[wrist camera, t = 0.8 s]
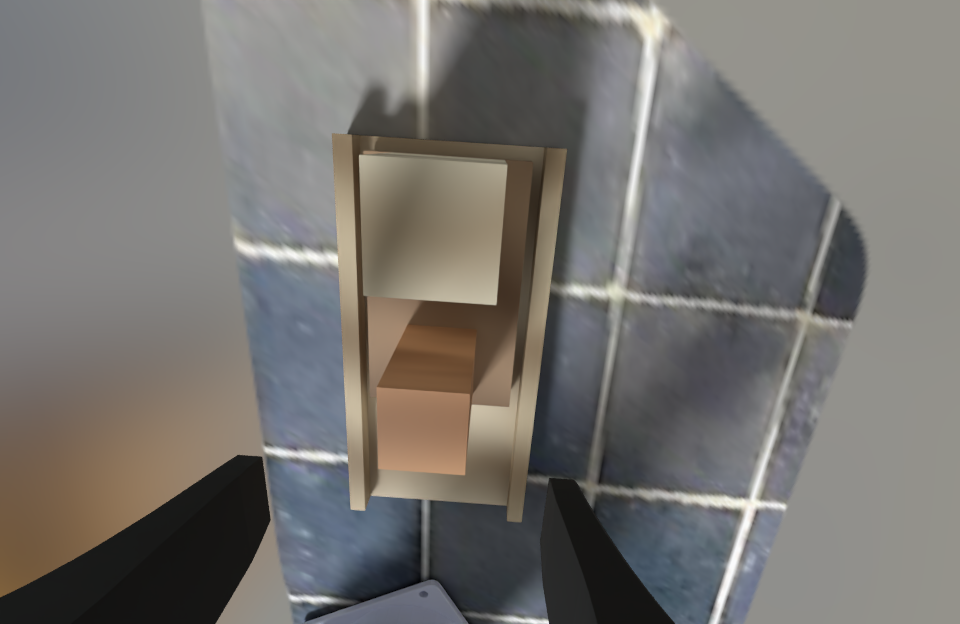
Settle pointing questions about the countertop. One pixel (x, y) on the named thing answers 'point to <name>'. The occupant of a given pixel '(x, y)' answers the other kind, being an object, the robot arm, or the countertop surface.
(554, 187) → the rail bed
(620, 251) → the countertop surface
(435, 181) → the cube
